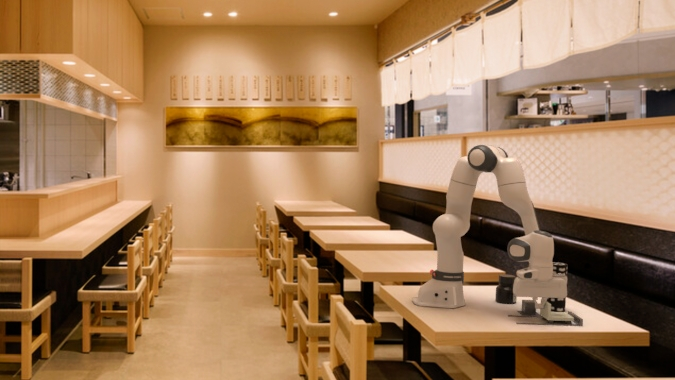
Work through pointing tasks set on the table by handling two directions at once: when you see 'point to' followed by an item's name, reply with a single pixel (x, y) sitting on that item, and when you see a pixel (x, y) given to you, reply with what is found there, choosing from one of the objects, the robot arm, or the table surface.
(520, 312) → the station pad
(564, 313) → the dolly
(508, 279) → the ink bottle
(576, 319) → the track
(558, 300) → the white-spotted black cylinder
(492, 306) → the table surface
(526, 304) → the steel block
